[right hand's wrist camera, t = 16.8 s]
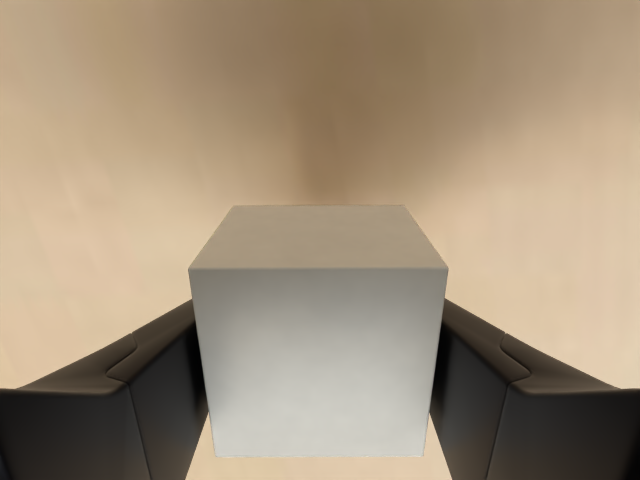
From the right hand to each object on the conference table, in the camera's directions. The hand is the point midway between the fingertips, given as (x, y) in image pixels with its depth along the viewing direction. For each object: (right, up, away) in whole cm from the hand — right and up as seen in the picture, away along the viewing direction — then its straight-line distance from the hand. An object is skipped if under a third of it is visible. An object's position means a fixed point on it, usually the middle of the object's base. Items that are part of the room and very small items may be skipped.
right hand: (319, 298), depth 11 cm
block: (0, 0, +1) cm, 1 cm away
